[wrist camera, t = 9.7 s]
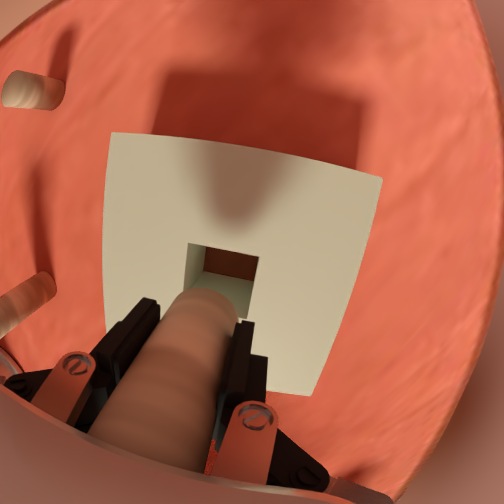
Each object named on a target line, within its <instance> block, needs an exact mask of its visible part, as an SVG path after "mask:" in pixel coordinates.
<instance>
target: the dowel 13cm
mask: <svg viewBox="0 0 504 504" xmlns="http://www.w3.org/2000/svg"><path fill="white" fill-rule="evenodd" d="M56 292H57V289H56V284H55V281H54V279H53V278H52V276H51V275H50V274H49V273H47V272H45V271H41V272H39V273H37V274H36V275H34V276H32V277H31V278H29V279H27V280H26V281H24V282H23V283H21V284H19V285H18V286H16V287H15V288H13V289H11V290H10V291H8V292H7V293H5V294H4V295H2V296H1V297H0V339H1V338H2V337H3V336H5V335H6V334H7V333H8V332H9V331H11V330H12V329H13V328H14V327H16V326H17V325H18V324H19V323H21V322H22V321H23V320H24V319H26V318H27V317H28V316H29V315H31V314H32V313H33V312H35V311H36V310H37V309H38V308H40V307H41V306H42V305H44V304H45V303H46V302H48V301H49V300H50V299H52V298H53V297H54V296H55V295H56Z"/></svg>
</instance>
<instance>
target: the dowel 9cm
mask: <svg viewBox="0 0 504 504" xmlns="http://www.w3.org/2000/svg"><path fill="white" fill-rule="evenodd" d="M236 322H238V323H239V318H238V314H237V311H236V309H235V307H234V306H233V304H232V303H231V302H230V301H229V300H228V299H227V298H226V297H225V296H224V295H222V294H221V293H219V292H217V291H215V290H212V289H208V288H201V287H197V288H191V289H187V290H185V291H183V292H181V293H180V294H179V295H178V296H177V297H176V298H175V300H174V301H173V302H172V304H171V305H170V307H169V308H168V310H167V311H166V313H165V314H164V315H163V317H162V318H161V320H160V321H159V323H158V324H157V326H156V327H155V329H154V330H153V332H152V333H151V335H150V336H149V338H148V339H147V341H146V342H145V343H144V345H143V346H142V348H141V349H140V351H139V353H138V354H137V356H136V357H135V359H134V360H133V362H132V363H131V365H130V366H129V368H128V369H127V371H126V372H125V374H124V375H123V377H122V378H121V380H120V382H119V383H118V385H117V386H116V388H115V389H114V391H113V392H112V394H111V396H110V397H109V399H108V400H107V402H106V404H105V405H104V407H103V408H102V410H101V412H100V413H99V415H98V416H97V418H96V420H95V421H94V423H93V424H92V426H91V428H90V429H89V431H88V433H87V434H88V435H90V436H92V437H94V438H96V439H99V440H101V441H103V442H106V443H108V444H110V445H113V446H115V447H118V448H120V449H123V450H125V451H128V452H131V453H133V454H136V455H139V456H142V457H145V458H148V459H151V460H154V461H157V462H160V463H163V464H167V465H170V466H174V467H177V468H181V469H185V470H188V471H192V472H197V473H201V474H204V470H205V465H206V461H207V457H208V453H209V449H210V445H211V440H212V436H213V432H214V428H215V424H216V419H217V409H216V404H217V398H218V392H219V387H220V383H221V379H222V375H223V371H224V367H225V363H226V359H227V355H228V351H229V348H230V344H231V340H232V336H233V332H234V328H235V324H236Z"/></svg>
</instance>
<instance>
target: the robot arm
mask: <svg viewBox="0 0 504 504" xmlns="http://www.w3.org/2000/svg"><path fill="white" fill-rule="evenodd" d="M160 312H161V306H160V304H157V301H156V300H154V299H150V298H146V297H143V298H142V299H141V300H140V301H139V302H138V303H137V304H136V305H135V307H134V308H133V309H132V310H131V311H130V312H129V313H128V314H127V316H126V317H125V318H124V319H123V320H122V321H118V322H117V323H116V324H115V325H114V326H113V327H112V328H111V329H110V330H109V332H108V333H107V334H106V335H105V336H104V337H103V338H102V340H101V341H100V342H99V343H98V344H97V345H96V346H95V348H94V349H93V350H92V351H91V352H90V353H89V354H87V353H85V352H80V351H75V352H70V353H67V354H65V355H64V356H63V357H62V358H61V359H60V360H59V361H58V363H57V364H56V366H55V367H54V368H53V369H47V370H40V371H34V372H27V373H23V372H22V370H21V369H20V368H19V366H18V365H17V364H16V362H15V361H14V360H13V359H12V358H11V357H10V356H9V355H8V354H7V353H6V352H5V351H4V350H3V349H2V348H1V347H0V504H394V502H393V500H392V499H391V498H390V497H389V496H387V495H385V494H383V493H380V492H377V491H375V490H372V489H369V488H366V487H363V486H361V485H358V484H355V483H353V482H350V481H348V480H345V479H343V478H341V477H338V478H337V479H336V478H333V477H331V476H329V474H328V472H327V470H326V469H325V468H324V467H323V466H322V465H321V464H320V463H319V462H317V461H316V460H315V459H314V458H312V457H311V456H310V455H309V454H307V453H306V452H305V451H304V450H303V449H301V448H300V447H299V446H298V445H297V444H295V443H294V442H293V441H292V440H291V439H290V438H288V437H287V436H286V435H285V434H284V433H283V432H282V431H280V430H279V429H278V428H277V427H278V415H277V413H276V411H275V410H274V409H273V408H272V407H270V406H269V405H267V404H265V398H266V384H267V369H268V357H266V356H261V355H255V354H251V348H252V341H253V334H254V327H255V322H251V321H246V320H242V322H241V323H238V322H236V324H235V328H234V332H233V336H232V340H231V344H230V348H229V351H228V355H227V359H226V363H225V367H224V371H223V375H222V379H221V383H220V387H219V392H218V398H217V404H216V409H217V419H216V424H215V428H214V432H213V436H212V439H215V440H216V443H215V450H216V451H217V452H218V455H217V458H216V461H215V463H214V466H213V469H212V471H211V474H210V475H205V474H201V473H197V472H192V471H188V470H185V469H181V468H177V467H174V466H170V465H167V464H163V463H160V462H157V461H154V460H151V459H148V458H145V457H142V456H139V455H136V454H133V453H131V452H128V451H125V450H123V449H120V448H118V447H115V446H113V445H110V444H108V443H106V442H103V441H101V440H99V439H96V438H94V437H92V436H90V435H88V434H87V433H88V431H89V429H90V428H91V426H92V424H93V423H94V421H95V420H96V418H97V416H98V415H99V413H100V412H101V410H102V408H103V407H104V405H105V404H106V402H107V400H108V399H109V397H110V396H111V394H112V392H113V391H114V389H115V388H116V386H117V385H118V383H119V382H120V380H121V378H122V377H123V375H124V374H125V372H126V371H127V369H128V368H129V366H130V365H131V363H132V362H133V360H134V359H135V357H136V356H137V354H138V353H139V351H140V349H141V348H142V346H143V345H144V343H145V342H146V341H147V339H148V338H149V336H150V335H151V333H152V332H153V330H154V329H155V327H156V326H157V324H158V323H159V321H160Z"/></svg>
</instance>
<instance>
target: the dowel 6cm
mask: <svg viewBox="0 0 504 504" xmlns="http://www.w3.org/2000/svg"><path fill="white" fill-rule="evenodd" d="M64 94H65V85H64V83H63V81H61V80H59V79H55V78H51V77H46V76H42V75H38V74H33V73H29V72H24V71H19V70H16V71H14V72H12V73H11V74H10V75H9V76H8V78H7V79H6V81H5V83H4V86H3V89H2V93H1V101H2V104H3V105H4V106H5V107H17V108H30V109H40V110H54V109H55V108H57V107H58V106H59V105H60V103H61V102H62V100H63V97H64Z"/></svg>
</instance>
